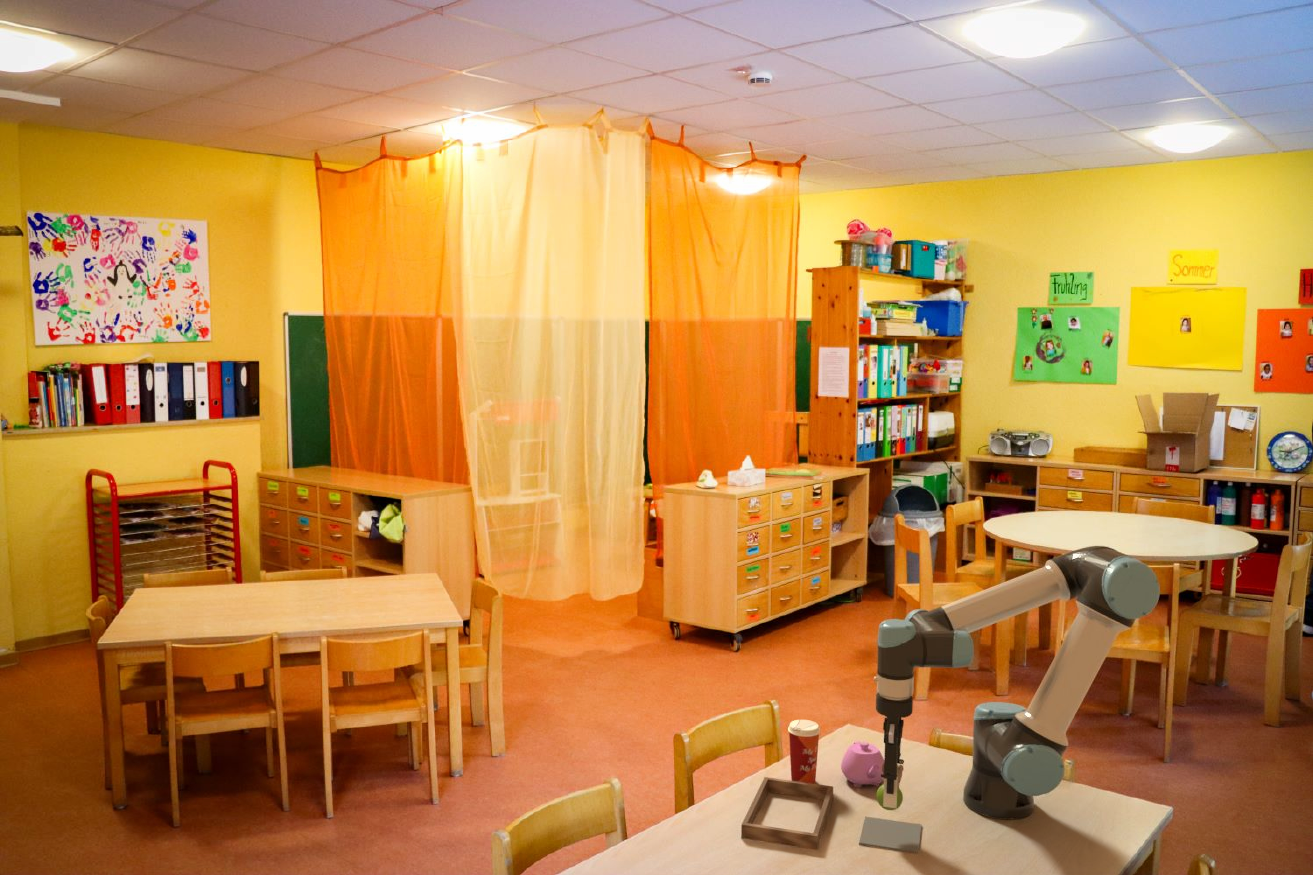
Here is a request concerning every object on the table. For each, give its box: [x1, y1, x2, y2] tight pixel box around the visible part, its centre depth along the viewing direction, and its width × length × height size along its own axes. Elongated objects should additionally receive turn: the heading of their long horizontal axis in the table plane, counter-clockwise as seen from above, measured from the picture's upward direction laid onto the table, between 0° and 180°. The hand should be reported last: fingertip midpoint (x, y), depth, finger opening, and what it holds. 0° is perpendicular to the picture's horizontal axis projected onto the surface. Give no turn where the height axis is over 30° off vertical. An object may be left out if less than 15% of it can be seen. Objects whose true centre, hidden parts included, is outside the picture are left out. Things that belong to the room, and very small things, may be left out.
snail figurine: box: [876, 759, 905, 811], centre depth 211 cm, size 5×6×12 cm
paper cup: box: [787, 719, 821, 784], centre depth 237 cm, size 8×8×14 cm
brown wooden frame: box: [740, 776, 834, 851], centre depth 220 cm, size 16×24×3 cm, turn 162°
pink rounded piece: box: [840, 740, 884, 788], centre depth 237 cm, size 10×15×9 cm
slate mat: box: [858, 816, 922, 854], centre depth 212 cm, size 12×12×1 cm
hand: (891, 799), depth 211 cm, fingers closed on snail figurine, 5 cm apart
